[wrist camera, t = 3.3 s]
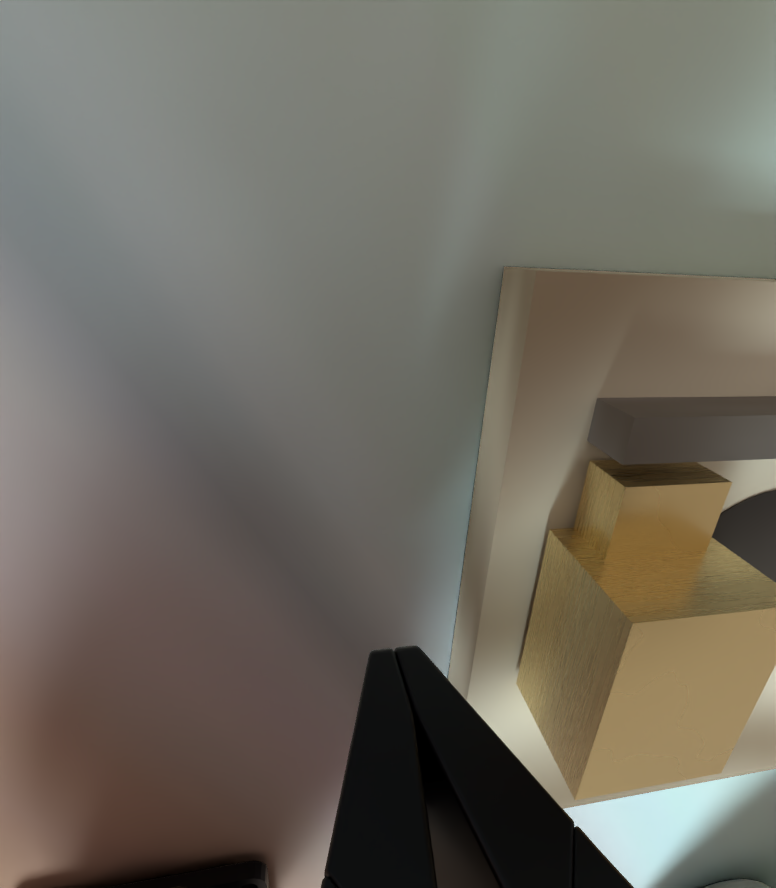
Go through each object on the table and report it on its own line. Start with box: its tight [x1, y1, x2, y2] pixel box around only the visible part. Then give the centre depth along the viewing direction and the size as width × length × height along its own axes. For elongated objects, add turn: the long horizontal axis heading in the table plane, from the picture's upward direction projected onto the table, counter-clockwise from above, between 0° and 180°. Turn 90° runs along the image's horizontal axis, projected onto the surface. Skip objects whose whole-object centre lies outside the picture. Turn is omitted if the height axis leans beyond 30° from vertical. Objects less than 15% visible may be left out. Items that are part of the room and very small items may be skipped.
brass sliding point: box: [516, 460, 776, 800], centre depth 9 cm, size 5×3×2 cm, turn 177°
